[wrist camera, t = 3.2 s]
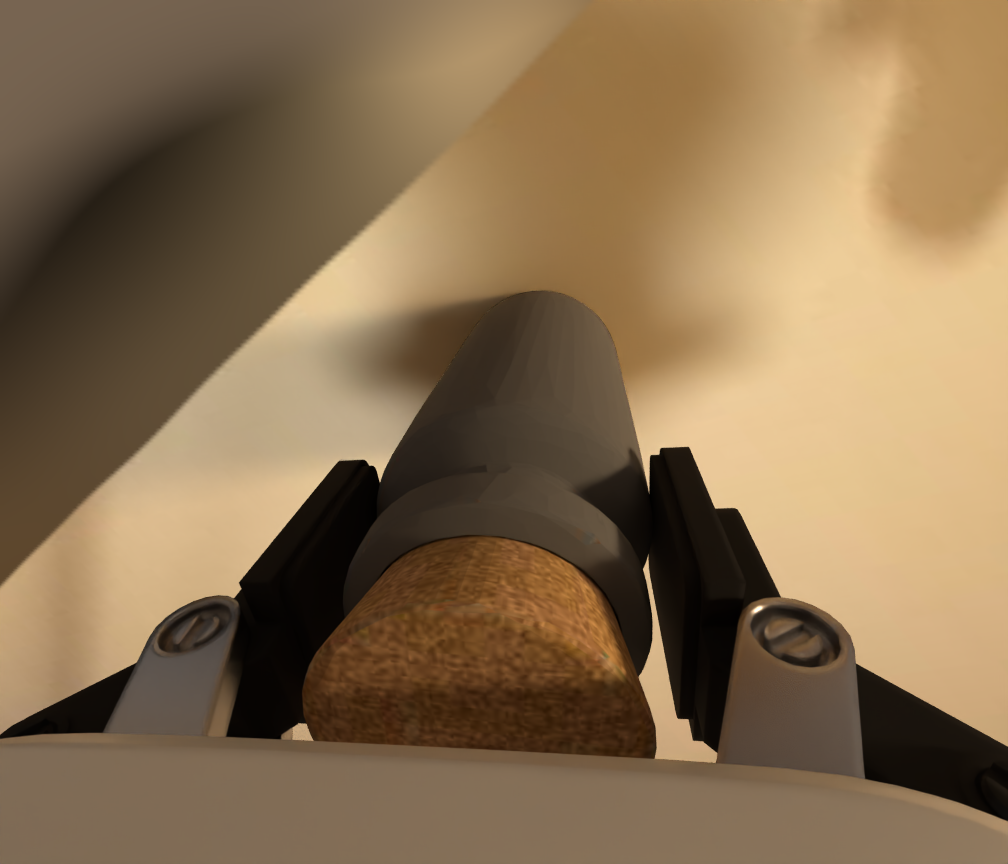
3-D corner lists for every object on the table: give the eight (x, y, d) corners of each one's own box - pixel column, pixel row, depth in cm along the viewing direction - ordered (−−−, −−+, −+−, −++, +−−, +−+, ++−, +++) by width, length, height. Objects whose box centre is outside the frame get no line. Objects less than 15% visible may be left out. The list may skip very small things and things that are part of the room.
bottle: (582, 452, 22) (594, 904, 8) (448, 405, 21) (239, 791, 8) (643, 320, 19) (808, 675, 6) (491, 265, 19) (282, 497, 5)
